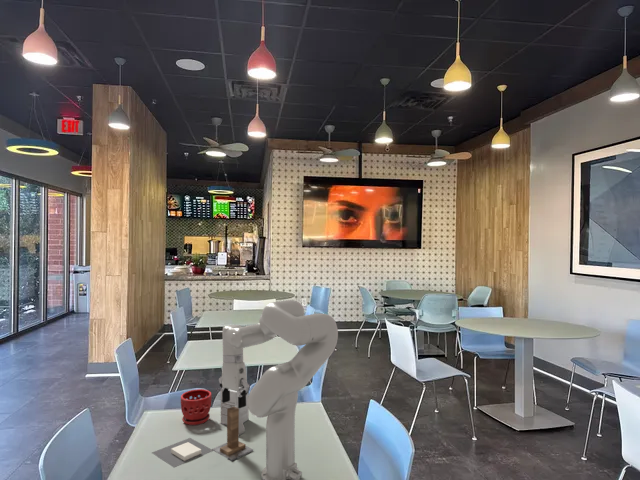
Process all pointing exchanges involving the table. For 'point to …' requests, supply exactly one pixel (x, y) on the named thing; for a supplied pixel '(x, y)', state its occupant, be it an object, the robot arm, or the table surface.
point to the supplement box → (234, 403)
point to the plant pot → (196, 406)
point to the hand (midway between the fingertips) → (234, 404)
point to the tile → (186, 451)
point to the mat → (176, 461)
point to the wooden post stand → (232, 432)
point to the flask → (240, 424)
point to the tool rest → (234, 455)
